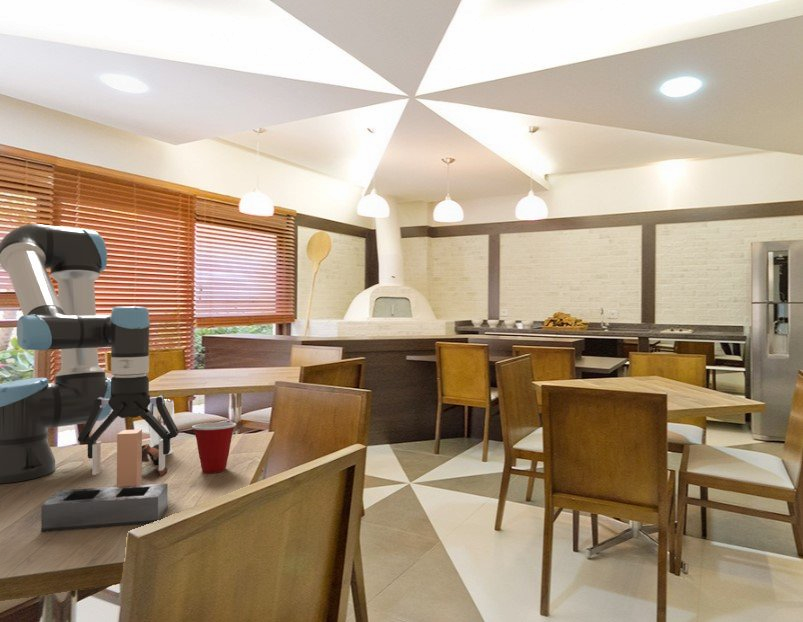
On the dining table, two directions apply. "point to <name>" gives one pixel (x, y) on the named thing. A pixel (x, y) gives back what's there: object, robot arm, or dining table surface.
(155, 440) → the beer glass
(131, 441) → the terracotta peg
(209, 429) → the plastic cup
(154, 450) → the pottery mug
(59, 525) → the grey peg hole block
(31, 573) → the dining table surface
